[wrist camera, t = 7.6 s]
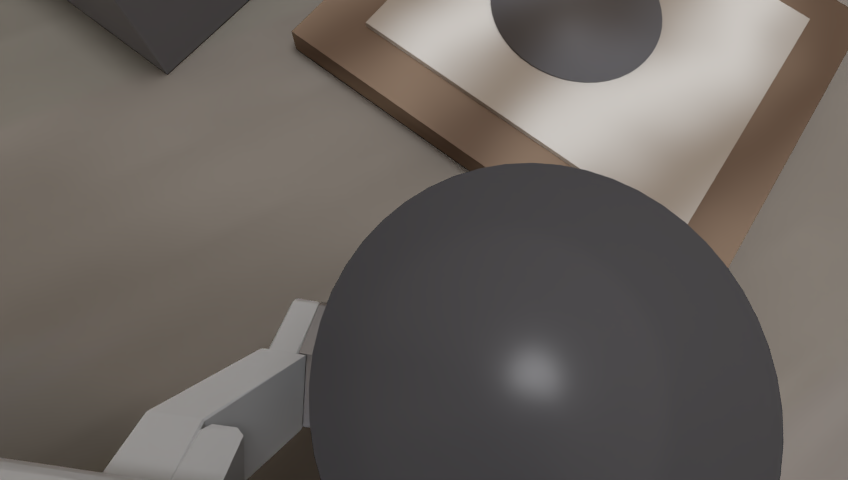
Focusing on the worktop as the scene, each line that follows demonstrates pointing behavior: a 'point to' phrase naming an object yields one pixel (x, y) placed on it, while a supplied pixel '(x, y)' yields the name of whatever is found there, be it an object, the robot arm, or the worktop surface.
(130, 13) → the button box
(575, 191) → the grey cylinder
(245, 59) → the worktop surface
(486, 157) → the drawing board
